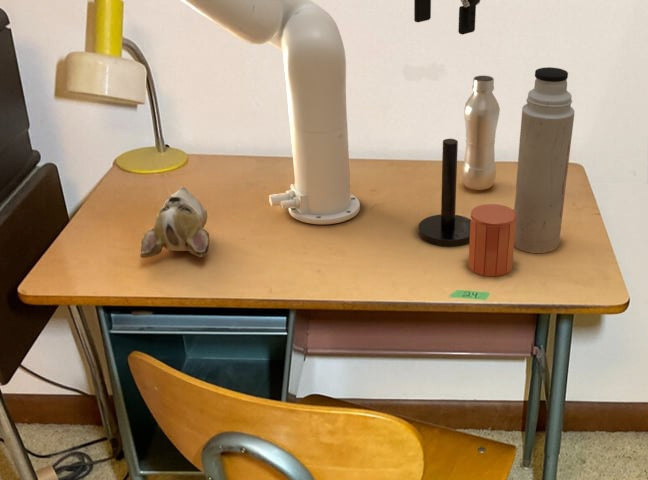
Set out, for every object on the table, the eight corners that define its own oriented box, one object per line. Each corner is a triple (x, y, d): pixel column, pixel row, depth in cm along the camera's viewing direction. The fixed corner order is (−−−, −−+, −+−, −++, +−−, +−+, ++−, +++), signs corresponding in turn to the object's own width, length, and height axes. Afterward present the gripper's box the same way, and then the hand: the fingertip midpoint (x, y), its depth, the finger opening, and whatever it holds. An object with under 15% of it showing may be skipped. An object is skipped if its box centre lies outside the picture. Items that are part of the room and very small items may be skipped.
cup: (481, 279, 132) (484, 226, 126) (460, 260, 137) (462, 208, 131) (520, 271, 134) (524, 218, 129) (498, 252, 139) (502, 200, 134)
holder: (434, 251, 139) (435, 156, 129) (408, 226, 146) (408, 135, 136) (487, 240, 143) (493, 147, 133) (460, 216, 150) (463, 126, 140)
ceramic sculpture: (214, 177, 139) (199, 222, 127) (222, 224, 144) (209, 271, 133) (148, 177, 138) (127, 223, 127) (159, 225, 144) (140, 272, 132)
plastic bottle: (501, 185, 161) (509, 77, 149) (483, 197, 156) (490, 86, 144) (472, 177, 164) (477, 70, 151) (454, 188, 159) (457, 79, 147)
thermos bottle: (561, 234, 145) (581, 65, 128) (556, 255, 139) (577, 81, 122) (514, 229, 146) (528, 61, 129) (508, 250, 140) (522, 76, 123)
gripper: (387, -102, 127) (389, 20, 137) (473, -88, 118) (468, 42, 128) (423, -106, 131) (422, 12, 142) (508, -92, 122) (500, 33, 132)
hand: (444, 26), depth 135 cm, fingers open, 9 cm apart
